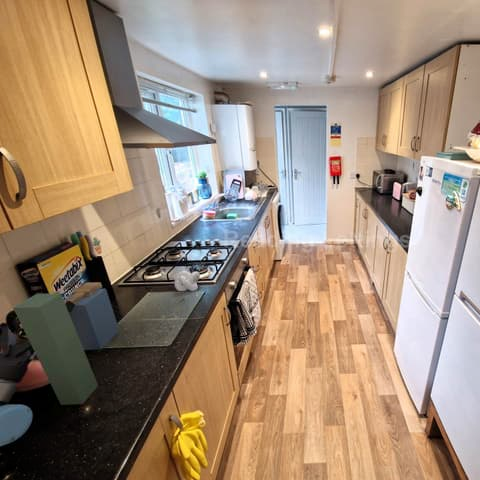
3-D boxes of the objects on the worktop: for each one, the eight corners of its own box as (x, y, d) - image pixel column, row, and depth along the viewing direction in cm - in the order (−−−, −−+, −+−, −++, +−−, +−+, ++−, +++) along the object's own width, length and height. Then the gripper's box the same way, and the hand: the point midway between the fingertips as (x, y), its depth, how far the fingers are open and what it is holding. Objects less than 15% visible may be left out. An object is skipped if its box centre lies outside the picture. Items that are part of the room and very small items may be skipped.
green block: (62, 407, 75) (12, 307, 62) (78, 388, 80) (36, 293, 68) (84, 406, 75) (39, 307, 63) (99, 387, 81) (60, 293, 68)
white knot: (192, 280, 141) (189, 265, 138) (208, 286, 136) (205, 270, 133) (172, 290, 132) (169, 274, 129) (188, 297, 127) (185, 280, 124)
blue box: (75, 352, 94) (55, 305, 86) (96, 333, 103) (80, 289, 96) (102, 351, 94) (84, 304, 87) (120, 332, 104) (105, 288, 96)
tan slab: (88, 287, 97) (86, 282, 96) (102, 287, 97) (100, 282, 96) (43, 318, 80) (40, 313, 79) (60, 318, 80) (58, 312, 80)
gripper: (38, 376, 65) (83, 296, 78) (-70, 381, 63) (-5, 298, 77) (60, 383, 71) (98, 307, 84) (-38, 387, 69) (17, 309, 82)
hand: (49, 303), depth 80 cm, fingers open, 12 cm apart
